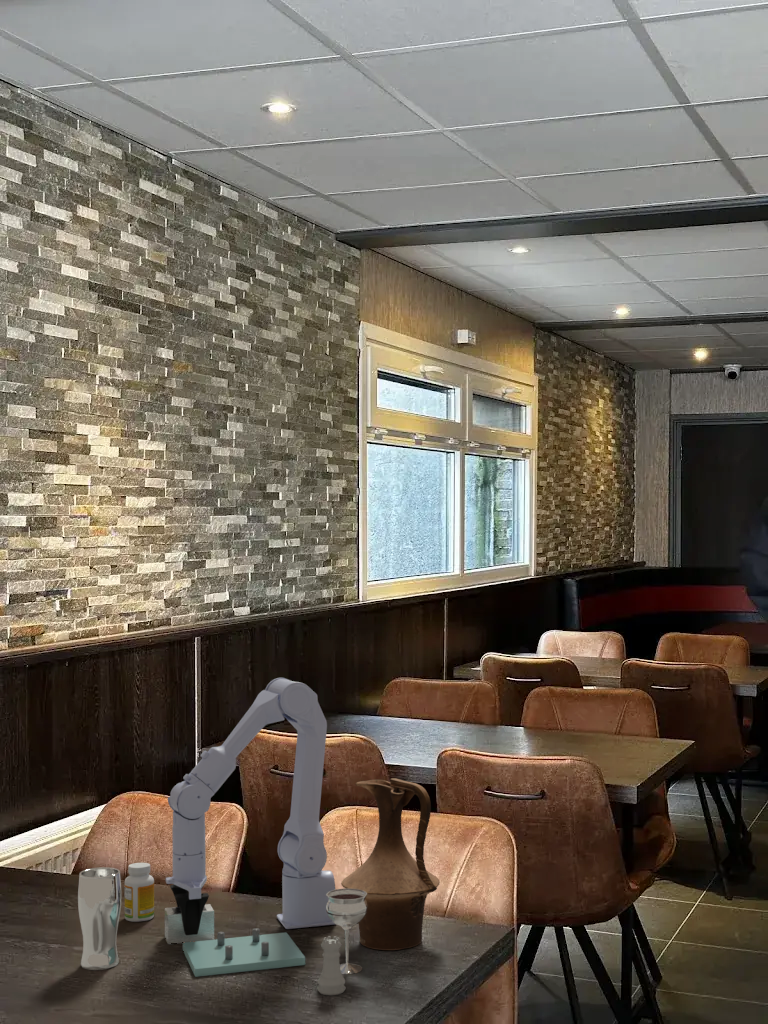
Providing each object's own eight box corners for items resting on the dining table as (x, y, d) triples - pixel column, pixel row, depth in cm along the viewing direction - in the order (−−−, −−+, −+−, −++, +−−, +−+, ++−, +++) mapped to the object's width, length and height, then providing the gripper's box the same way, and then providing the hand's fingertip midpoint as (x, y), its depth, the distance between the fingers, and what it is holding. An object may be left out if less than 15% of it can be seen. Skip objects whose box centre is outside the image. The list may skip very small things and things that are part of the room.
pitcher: (460, 936, 219) (458, 775, 220) (409, 964, 205) (408, 792, 205) (375, 921, 228) (374, 766, 229) (321, 946, 214) (320, 781, 215)
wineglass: (337, 978, 198) (336, 902, 199) (319, 966, 204) (318, 891, 205) (375, 971, 201) (374, 896, 202) (356, 959, 207) (356, 886, 208)
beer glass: (129, 959, 208) (129, 868, 208) (106, 973, 202) (106, 879, 202) (92, 955, 210) (92, 865, 211) (69, 968, 204) (69, 875, 204)
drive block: (210, 932, 223) (209, 903, 223) (214, 939, 218) (214, 910, 218) (164, 936, 220) (164, 907, 220) (167, 944, 216) (167, 914, 216)
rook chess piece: (316, 986, 195) (316, 934, 195) (345, 985, 195) (344, 933, 195) (317, 996, 190) (317, 943, 191) (346, 995, 191) (346, 942, 191)
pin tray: (286, 939, 218) (286, 920, 218) (305, 964, 205) (305, 945, 205) (182, 949, 213) (182, 930, 213) (195, 976, 200) (195, 956, 200)
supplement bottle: (157, 914, 234) (157, 861, 234) (149, 922, 229) (149, 869, 229) (129, 913, 234) (129, 861, 235) (120, 922, 229) (120, 868, 229)
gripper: (160, 844, 225) (161, 920, 225) (171, 863, 212) (171, 944, 211) (200, 841, 227) (200, 916, 227) (213, 860, 214) (213, 940, 213)
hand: (189, 930), depth 219 cm, fingers closed on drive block, 4 cm apart
